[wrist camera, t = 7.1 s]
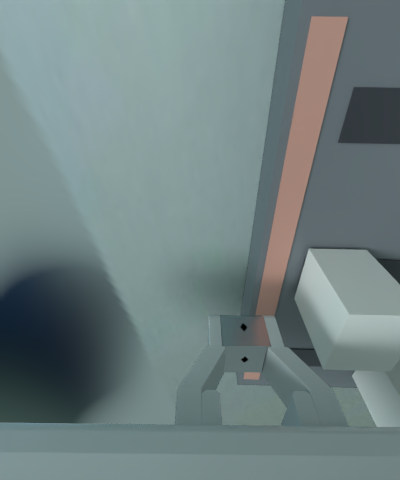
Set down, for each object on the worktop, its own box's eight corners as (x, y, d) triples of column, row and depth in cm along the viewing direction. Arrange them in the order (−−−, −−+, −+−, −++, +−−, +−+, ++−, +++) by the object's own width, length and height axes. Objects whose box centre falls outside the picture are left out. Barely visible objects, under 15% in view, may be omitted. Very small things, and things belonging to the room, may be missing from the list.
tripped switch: (366, 249, 13) (430, 316, 9) (344, 299, 15) (390, 371, 11) (308, 248, 13) (349, 314, 9) (294, 298, 15) (323, 369, 11)
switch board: (641, 1, 10) (764, -22, 8) (389, 360, 23) (409, 390, 21) (285, -3, 10) (307, -26, 8) (234, 356, 23) (237, 385, 21)
